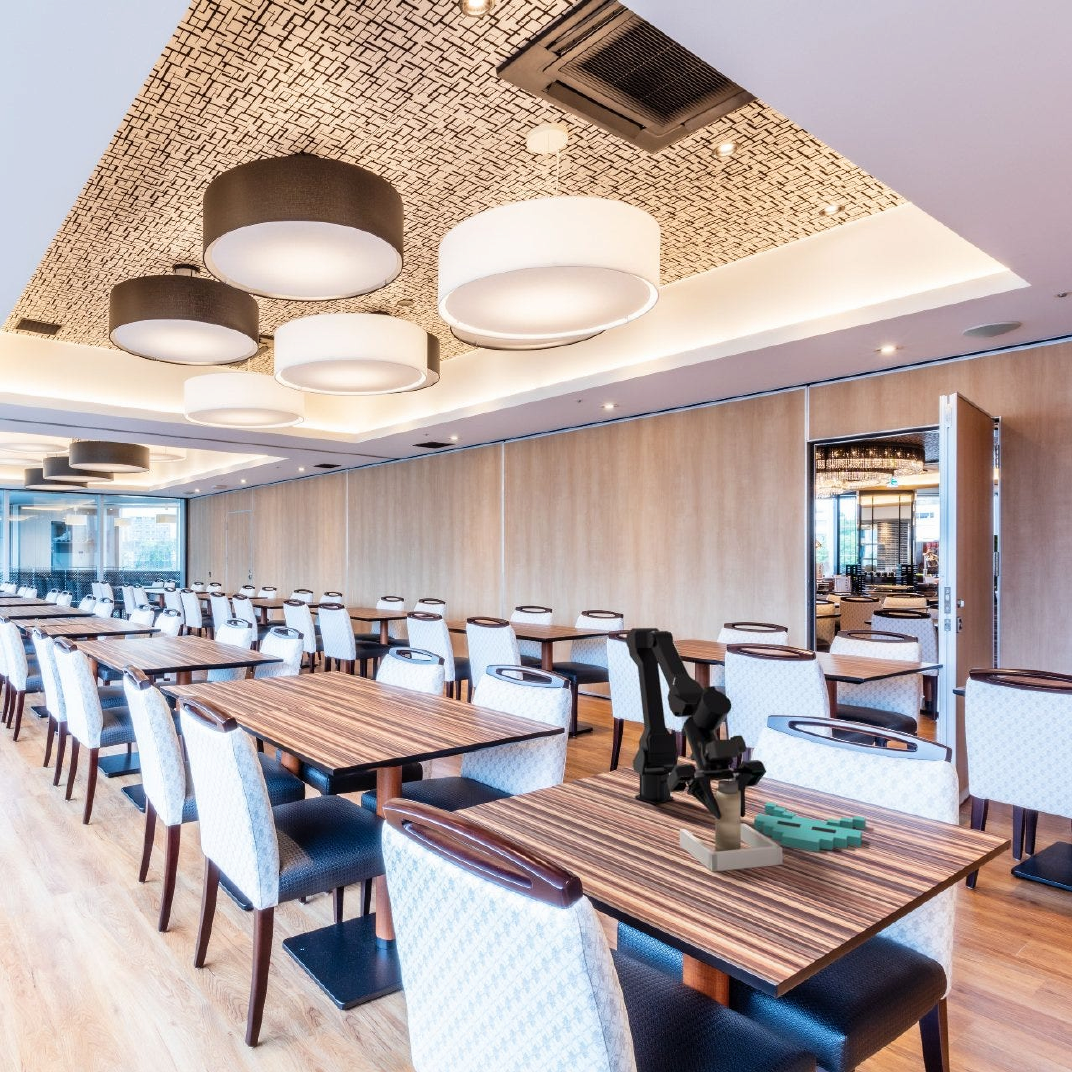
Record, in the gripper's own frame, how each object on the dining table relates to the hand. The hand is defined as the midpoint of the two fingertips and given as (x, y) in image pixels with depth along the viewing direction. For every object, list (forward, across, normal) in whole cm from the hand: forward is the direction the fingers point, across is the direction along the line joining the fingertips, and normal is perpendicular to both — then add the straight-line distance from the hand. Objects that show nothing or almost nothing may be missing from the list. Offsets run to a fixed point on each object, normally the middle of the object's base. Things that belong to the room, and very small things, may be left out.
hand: (731, 817), depth 141 cm
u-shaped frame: (+4, 0, +6) cm, 7 cm away
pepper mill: (+4, 0, +6) cm, 7 cm away
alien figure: (0, +22, +11) cm, 24 cm away
